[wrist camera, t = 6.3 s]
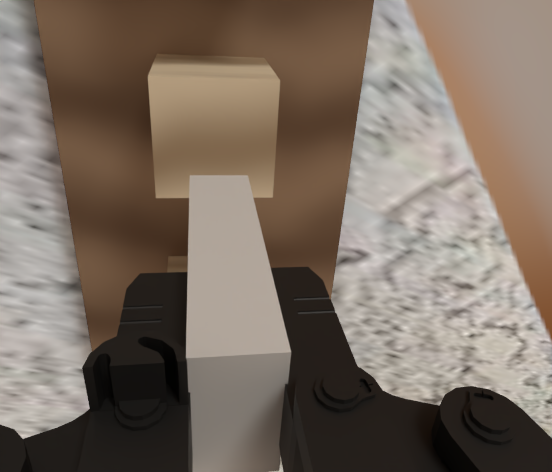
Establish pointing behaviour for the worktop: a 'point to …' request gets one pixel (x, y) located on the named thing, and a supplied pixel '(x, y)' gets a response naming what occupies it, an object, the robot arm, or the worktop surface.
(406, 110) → the worktop surface
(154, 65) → the plain beech block
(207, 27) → the walnut board
